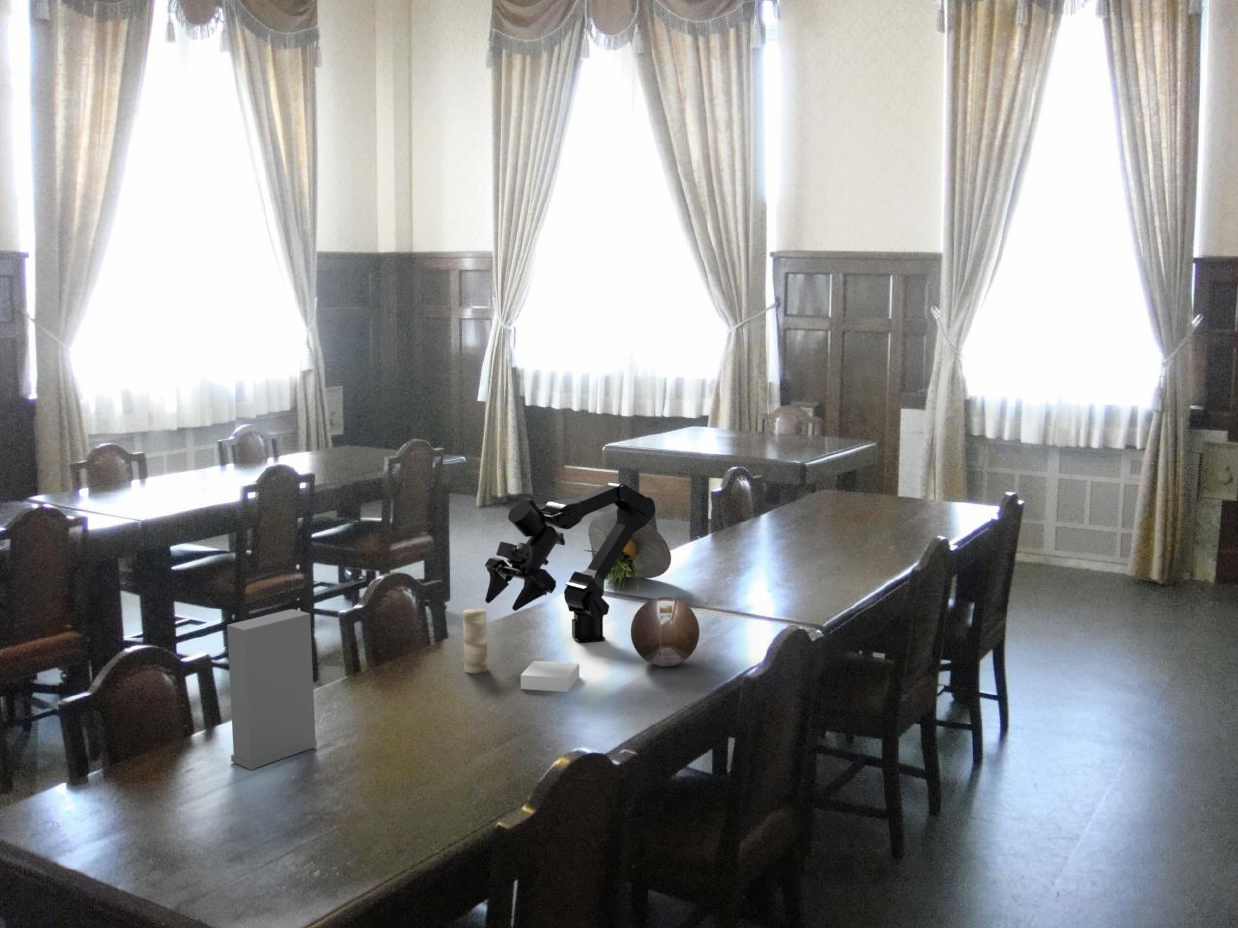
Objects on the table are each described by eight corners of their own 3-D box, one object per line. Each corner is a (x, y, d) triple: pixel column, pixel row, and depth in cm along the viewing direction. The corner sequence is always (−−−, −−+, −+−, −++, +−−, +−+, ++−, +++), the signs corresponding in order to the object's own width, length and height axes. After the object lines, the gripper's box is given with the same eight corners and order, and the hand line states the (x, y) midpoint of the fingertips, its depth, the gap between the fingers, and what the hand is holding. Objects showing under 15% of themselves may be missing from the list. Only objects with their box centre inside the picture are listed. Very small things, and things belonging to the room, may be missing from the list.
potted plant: (578, 603, 352) (554, 551, 334) (605, 555, 361) (583, 502, 343) (656, 625, 341) (635, 572, 323) (681, 575, 350) (663, 521, 332)
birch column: (484, 665, 272) (483, 607, 270) (489, 671, 268) (488, 613, 266) (462, 667, 271) (461, 609, 269) (466, 674, 266) (465, 615, 264)
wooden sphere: (641, 678, 263) (641, 609, 261) (622, 657, 277) (622, 592, 275) (708, 672, 267) (709, 604, 265) (686, 652, 281) (686, 587, 279)
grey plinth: (534, 674, 266) (533, 660, 265) (579, 677, 264) (579, 663, 263) (520, 688, 256) (520, 674, 256) (567, 692, 254) (567, 677, 254)
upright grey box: (296, 740, 228) (290, 607, 225) (316, 747, 224) (311, 613, 221) (230, 762, 218) (223, 624, 214) (250, 771, 214) (244, 630, 210)
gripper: (490, 522, 280) (452, 578, 274) (545, 533, 267) (507, 592, 261) (517, 551, 287) (481, 606, 281) (572, 563, 274) (535, 621, 268)
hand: (500, 605), depth 272 cm, fingers open, 9 cm apart
